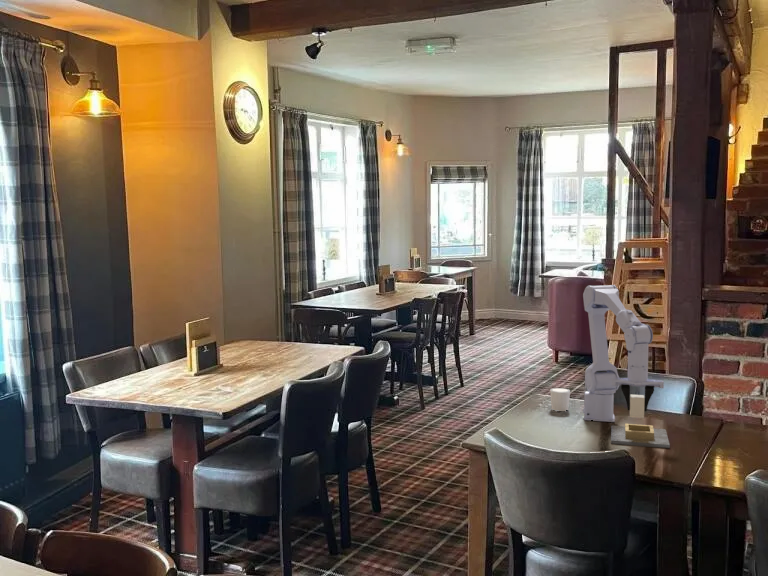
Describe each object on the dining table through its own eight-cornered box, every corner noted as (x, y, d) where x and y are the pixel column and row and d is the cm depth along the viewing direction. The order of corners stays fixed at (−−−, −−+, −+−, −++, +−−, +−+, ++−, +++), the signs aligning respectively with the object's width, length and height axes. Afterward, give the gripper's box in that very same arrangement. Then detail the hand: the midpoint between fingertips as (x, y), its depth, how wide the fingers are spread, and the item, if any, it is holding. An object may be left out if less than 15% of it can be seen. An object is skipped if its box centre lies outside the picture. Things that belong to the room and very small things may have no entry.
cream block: (629, 417, 215) (630, 397, 215) (629, 413, 219) (630, 394, 218) (644, 418, 214) (644, 398, 213) (643, 414, 218) (644, 395, 217)
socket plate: (611, 443, 212) (611, 433, 211) (611, 428, 227) (611, 419, 227) (669, 448, 207) (669, 438, 207) (665, 432, 222) (665, 422, 222)
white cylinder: (571, 408, 252) (572, 388, 251) (568, 413, 246) (568, 392, 245) (552, 406, 255) (552, 386, 254) (547, 411, 248) (548, 391, 248)
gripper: (612, 366, 214) (611, 411, 215) (664, 369, 209) (663, 415, 210) (612, 362, 220) (611, 405, 222) (663, 364, 216) (662, 409, 217)
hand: (636, 410), depth 216 cm, fingers closed on cream block, 4 cm apart
